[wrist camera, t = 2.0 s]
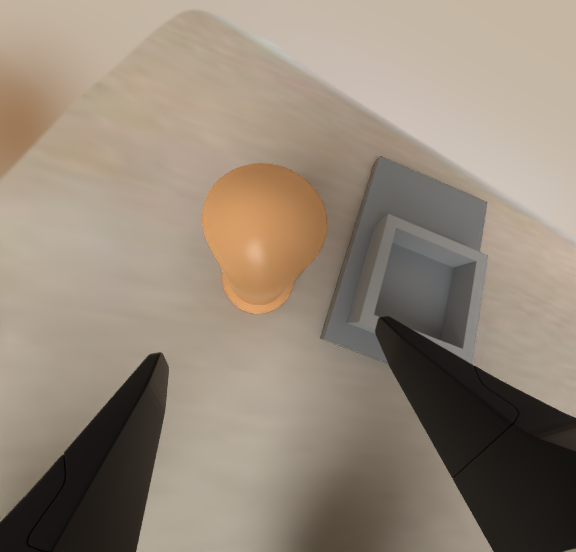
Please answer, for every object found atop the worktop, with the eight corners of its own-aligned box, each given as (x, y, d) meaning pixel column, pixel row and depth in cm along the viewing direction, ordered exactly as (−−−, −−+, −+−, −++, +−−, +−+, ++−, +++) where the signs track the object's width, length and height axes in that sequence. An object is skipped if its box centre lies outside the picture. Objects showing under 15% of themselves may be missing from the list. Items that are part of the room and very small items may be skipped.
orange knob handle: (303, 289, 22) (370, 239, 10) (249, 327, 21) (245, 329, 8) (266, 238, 23) (284, 128, 10) (211, 272, 21) (152, 194, 9)
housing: (447, 385, 22) (485, 397, 19) (320, 338, 21) (333, 340, 18) (477, 207, 27) (511, 189, 24) (374, 163, 26) (393, 137, 23)
